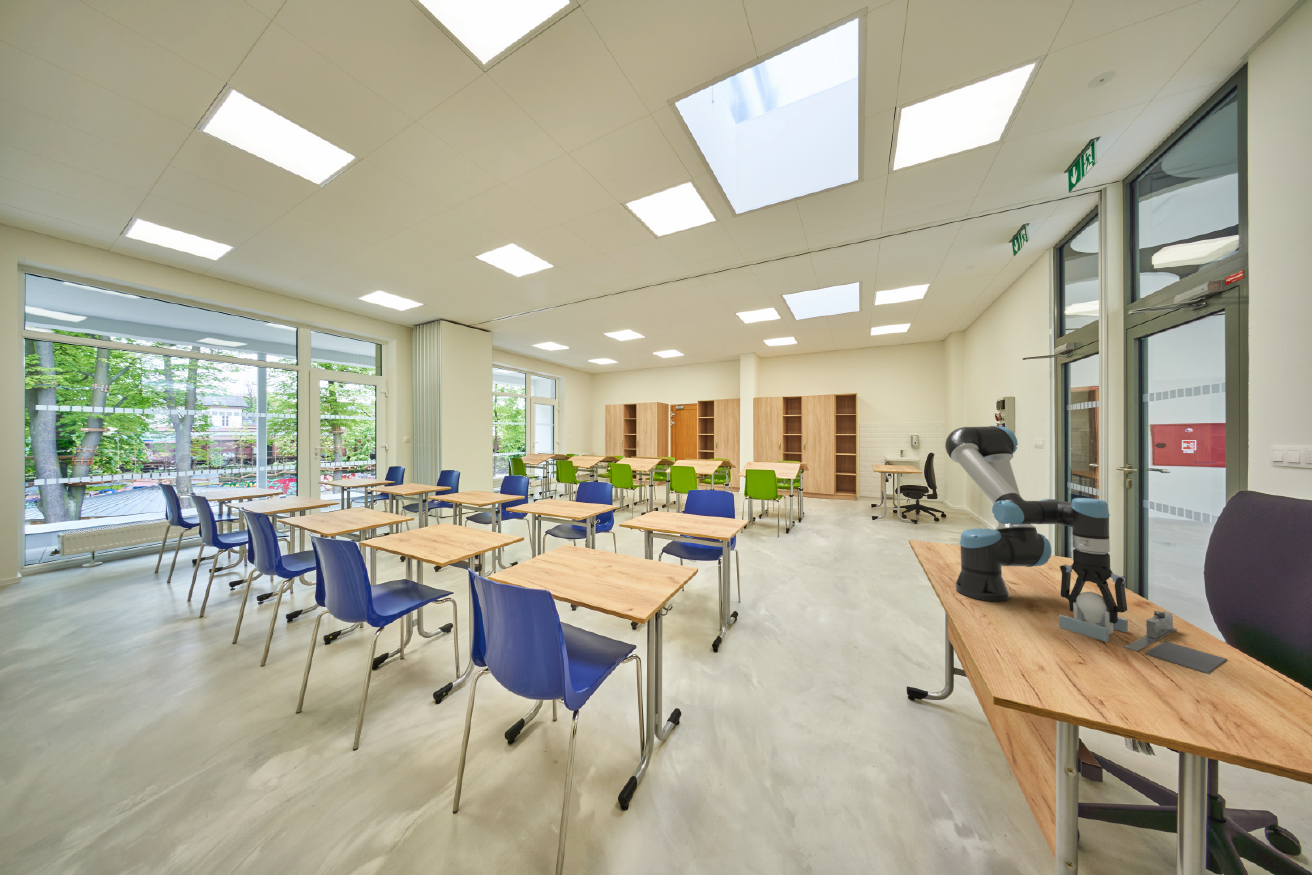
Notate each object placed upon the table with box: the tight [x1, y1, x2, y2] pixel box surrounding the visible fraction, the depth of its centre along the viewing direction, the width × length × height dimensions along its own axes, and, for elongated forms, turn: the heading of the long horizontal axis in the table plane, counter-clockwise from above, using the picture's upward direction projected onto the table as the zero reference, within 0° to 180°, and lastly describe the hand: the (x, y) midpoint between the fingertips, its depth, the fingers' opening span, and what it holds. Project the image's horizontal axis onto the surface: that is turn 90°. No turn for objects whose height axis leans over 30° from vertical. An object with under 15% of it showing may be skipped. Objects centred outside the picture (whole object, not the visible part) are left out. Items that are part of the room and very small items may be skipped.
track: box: [1123, 627, 1178, 653], centre depth 114 cm, size 2×28×1 cm, turn 114°
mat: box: [1144, 641, 1228, 675], centre depth 104 cm, size 10×14×1 cm
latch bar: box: [1145, 610, 1174, 639], centre depth 116 cm, size 2×13×6 cm, turn 114°
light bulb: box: [1076, 591, 1108, 626], centre depth 119 cm, size 7×7×11 cm
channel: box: [1058, 610, 1129, 643], centre depth 119 cm, size 10×14×4 cm
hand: (1093, 627), depth 119 cm, fingers closed on light bulb, 6 cm apart
